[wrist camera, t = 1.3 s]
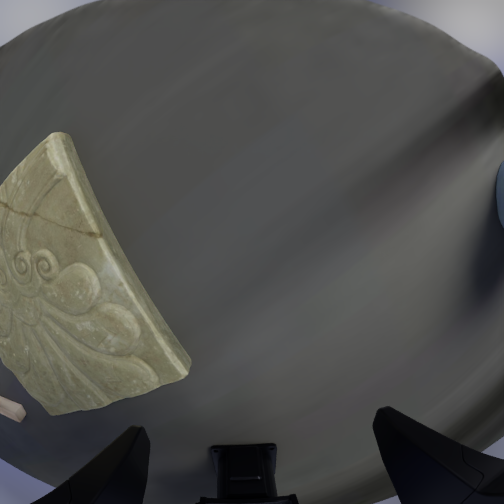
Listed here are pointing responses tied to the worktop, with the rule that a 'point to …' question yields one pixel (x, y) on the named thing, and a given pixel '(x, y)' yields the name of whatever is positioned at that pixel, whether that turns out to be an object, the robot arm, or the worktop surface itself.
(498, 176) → the light blue cup
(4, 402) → the frame
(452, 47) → the worktop surface
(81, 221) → the decorative tile
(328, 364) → the worktop surface
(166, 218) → the worktop surface
